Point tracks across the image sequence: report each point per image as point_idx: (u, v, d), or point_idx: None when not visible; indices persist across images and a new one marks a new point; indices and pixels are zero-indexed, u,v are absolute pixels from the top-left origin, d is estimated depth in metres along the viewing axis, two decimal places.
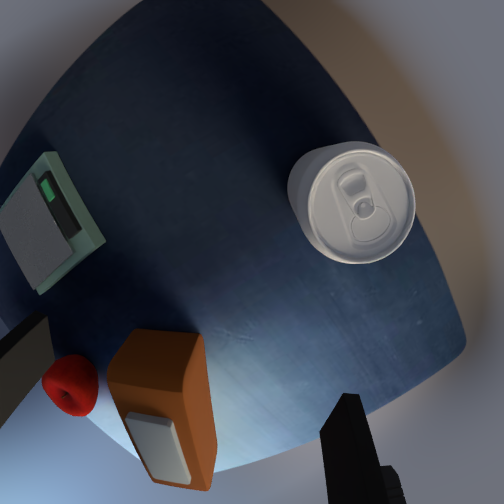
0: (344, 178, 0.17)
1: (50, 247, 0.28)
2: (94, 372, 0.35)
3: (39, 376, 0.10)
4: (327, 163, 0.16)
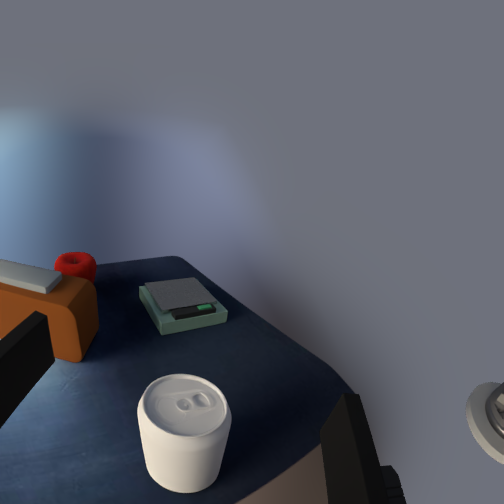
0: (205, 395, 0.23)
1: (168, 300, 0.52)
2: None
3: (39, 376, 0.10)
4: (215, 386, 0.24)
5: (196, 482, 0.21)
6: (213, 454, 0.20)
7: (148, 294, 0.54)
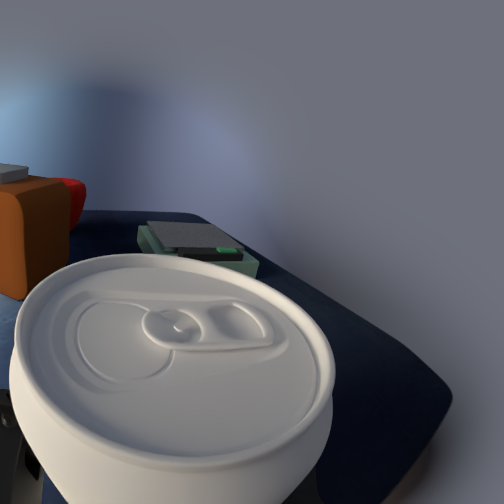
0: (249, 310, 0.08)
1: (176, 238, 0.37)
2: None
3: None
4: (277, 291, 0.09)
5: None
6: None
7: (149, 233, 0.39)
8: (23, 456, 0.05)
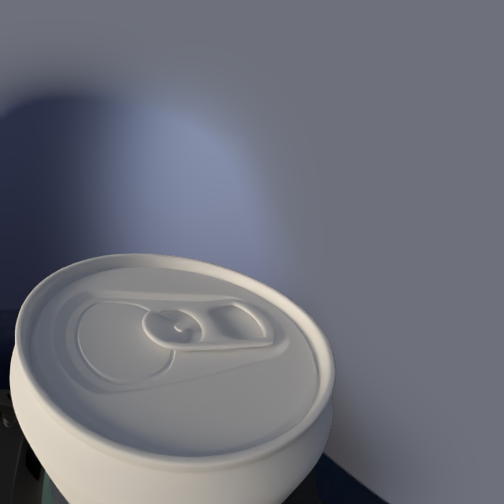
0: (249, 310, 0.08)
1: None
2: None
3: None
4: (277, 291, 0.09)
5: None
6: None
7: (47, 474, 0.09)
8: (24, 456, 0.05)
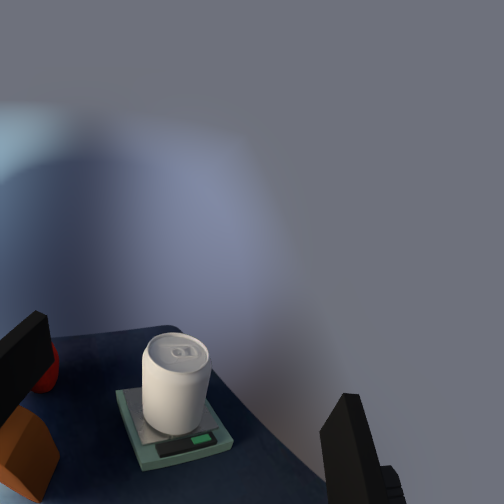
0: (194, 348, 0.33)
1: None
2: (34, 391, 0.30)
3: (39, 376, 0.10)
4: (202, 343, 0.34)
5: (180, 422, 0.31)
6: (194, 394, 0.30)
7: (126, 407, 0.35)
8: None
